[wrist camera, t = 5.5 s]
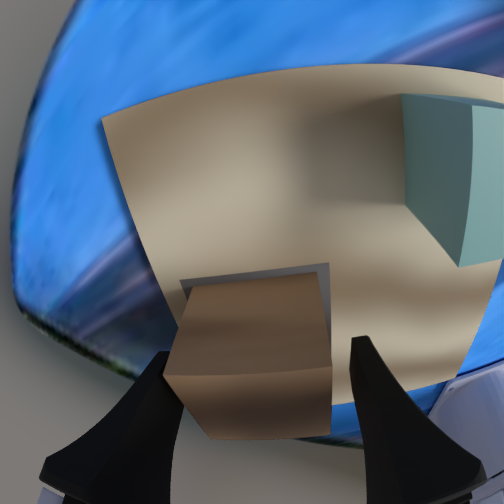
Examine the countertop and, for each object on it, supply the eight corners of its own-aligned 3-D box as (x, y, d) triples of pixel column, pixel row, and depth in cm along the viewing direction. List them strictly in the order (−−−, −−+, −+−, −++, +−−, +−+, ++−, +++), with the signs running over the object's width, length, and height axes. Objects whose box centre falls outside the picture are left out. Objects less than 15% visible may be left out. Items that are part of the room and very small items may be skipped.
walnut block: (322, 353, 14) (330, 434, 10) (223, 361, 15) (210, 439, 11) (316, 271, 11) (332, 366, 7) (192, 286, 12) (162, 375, 8)
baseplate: (451, 369, 16) (454, 378, 15) (224, 401, 18) (222, 411, 18) (506, 80, 7) (518, 82, 6) (111, 115, 9) (101, 118, 9)
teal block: (485, 197, 9) (546, 248, 6) (404, 205, 10) (458, 267, 6) (488, 100, 7) (564, 122, 4) (400, 93, 8) (471, 105, 4)
